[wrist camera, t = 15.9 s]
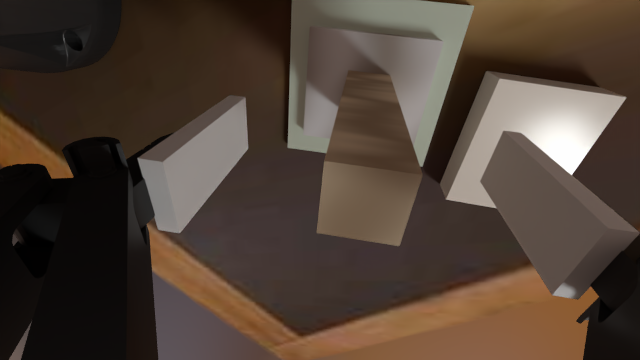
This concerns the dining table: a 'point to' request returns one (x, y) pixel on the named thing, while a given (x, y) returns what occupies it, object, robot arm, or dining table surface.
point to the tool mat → (380, 17)
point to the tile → (526, 127)
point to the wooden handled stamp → (367, 127)
